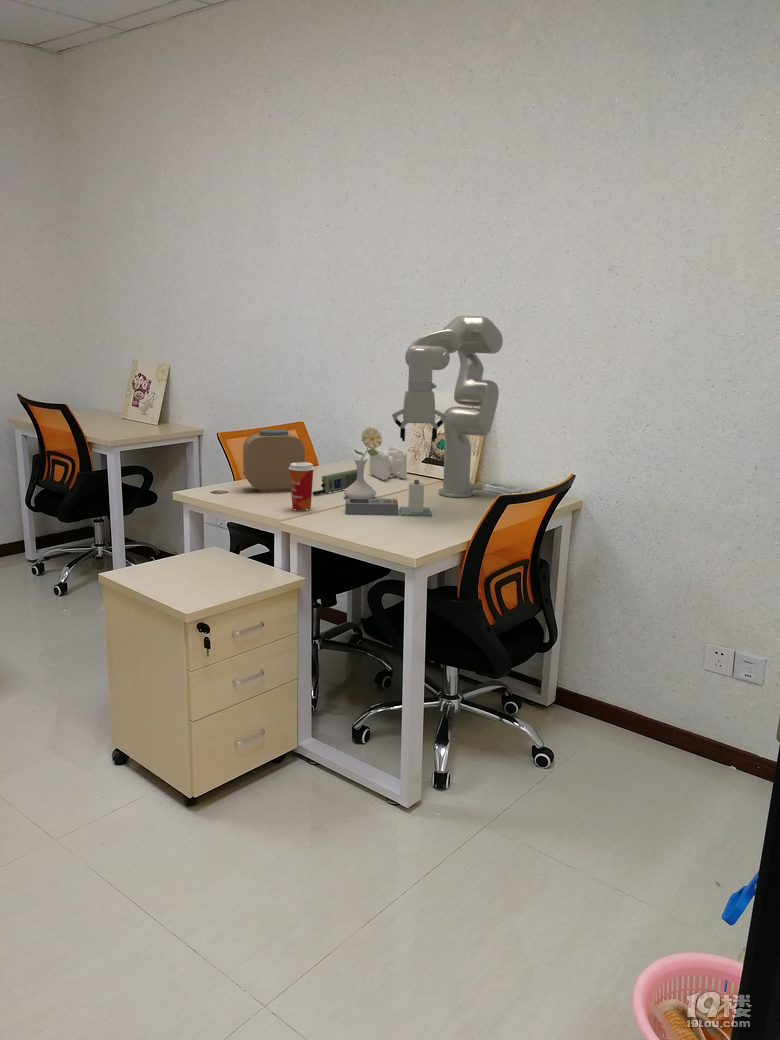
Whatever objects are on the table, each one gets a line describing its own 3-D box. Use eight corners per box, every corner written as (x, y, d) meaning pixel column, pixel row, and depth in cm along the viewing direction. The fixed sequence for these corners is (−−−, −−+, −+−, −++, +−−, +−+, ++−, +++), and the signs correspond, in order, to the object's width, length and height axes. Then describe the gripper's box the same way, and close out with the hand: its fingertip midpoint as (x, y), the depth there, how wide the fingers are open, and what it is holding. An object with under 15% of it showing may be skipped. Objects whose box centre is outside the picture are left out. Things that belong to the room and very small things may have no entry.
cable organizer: (407, 480, 324) (408, 451, 321) (382, 482, 319) (383, 452, 316) (391, 473, 337) (392, 445, 334) (367, 475, 333) (368, 446, 330)
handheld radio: (362, 487, 311) (317, 497, 292) (355, 486, 313) (310, 496, 294) (362, 469, 309) (316, 478, 290) (355, 468, 311) (309, 477, 292)
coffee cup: (285, 506, 276) (285, 462, 272) (309, 505, 279) (309, 461, 275) (293, 512, 268) (293, 467, 265) (317, 511, 272) (317, 465, 268)
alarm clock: (299, 485, 309) (299, 427, 304) (304, 491, 300) (304, 431, 295) (243, 488, 302) (242, 429, 297) (247, 493, 294) (246, 432, 288)
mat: (429, 509, 278) (429, 507, 278) (431, 516, 269) (432, 514, 268) (399, 508, 278) (399, 506, 278) (401, 515, 268) (401, 514, 268)
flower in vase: (345, 501, 285) (346, 429, 279) (342, 494, 296) (343, 424, 290) (383, 501, 287) (384, 429, 281) (378, 494, 298) (380, 424, 292)
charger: (421, 509, 275) (422, 478, 273) (423, 512, 271) (424, 481, 268) (408, 508, 275) (409, 478, 273) (409, 512, 271) (410, 481, 268)
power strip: (396, 509, 277) (397, 496, 276) (397, 515, 269) (398, 502, 268) (345, 508, 276) (345, 495, 275) (345, 514, 268) (345, 501, 267)
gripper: (446, 386, 267) (444, 439, 271) (392, 385, 266) (391, 438, 271) (448, 389, 260) (446, 443, 264) (393, 388, 259) (391, 442, 264)
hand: (418, 440), depth 268 cm, fingers open, 9 cm apart
